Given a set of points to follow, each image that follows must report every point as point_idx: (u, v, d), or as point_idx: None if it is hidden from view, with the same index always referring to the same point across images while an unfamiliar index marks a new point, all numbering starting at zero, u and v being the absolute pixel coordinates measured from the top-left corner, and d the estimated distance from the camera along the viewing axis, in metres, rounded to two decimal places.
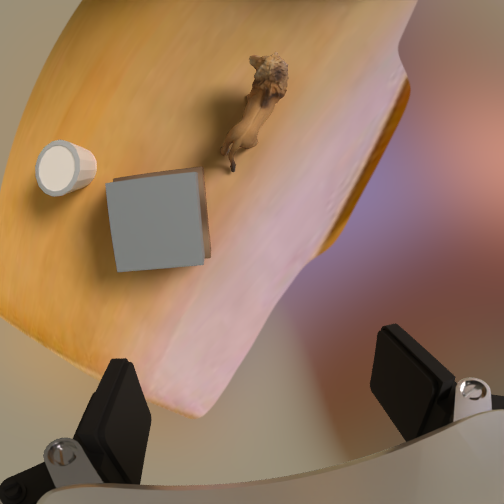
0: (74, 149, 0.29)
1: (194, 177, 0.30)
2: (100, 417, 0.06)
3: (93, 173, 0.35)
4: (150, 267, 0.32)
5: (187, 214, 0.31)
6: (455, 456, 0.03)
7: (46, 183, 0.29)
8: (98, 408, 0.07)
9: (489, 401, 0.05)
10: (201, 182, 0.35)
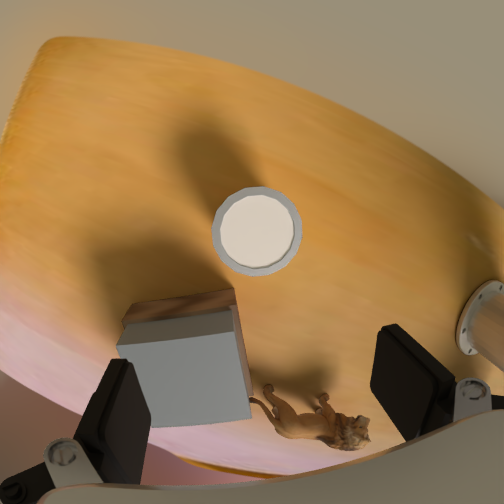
0: (284, 264, 0.23)
1: (245, 418, 0.26)
2: (100, 417, 0.06)
3: None
4: None
5: (203, 416, 0.25)
6: (455, 456, 0.03)
7: (233, 212, 0.22)
8: (98, 408, 0.07)
9: (489, 401, 0.05)
10: None
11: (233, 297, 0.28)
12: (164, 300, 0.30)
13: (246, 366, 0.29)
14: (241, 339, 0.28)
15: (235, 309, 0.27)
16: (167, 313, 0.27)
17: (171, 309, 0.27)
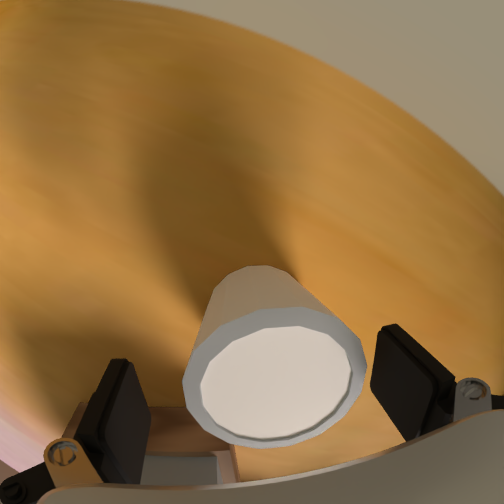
0: (320, 432, 0.11)
1: None
2: (100, 417, 0.06)
3: None
4: None
5: None
6: (455, 456, 0.03)
7: (229, 357, 0.10)
8: (98, 408, 0.07)
9: (489, 401, 0.05)
10: None
11: None
12: None
13: None
14: (234, 481, 0.15)
15: (227, 455, 0.14)
16: None
17: None
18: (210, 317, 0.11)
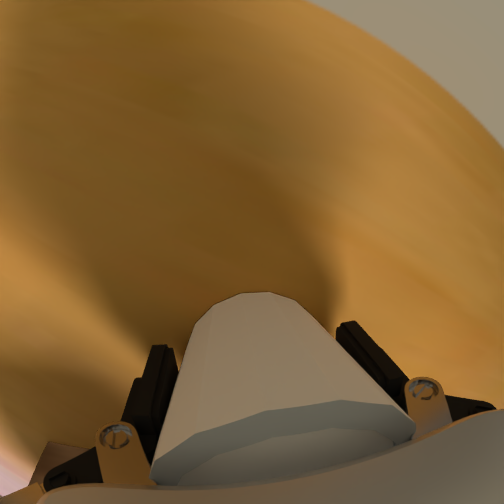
0: None
1: None
2: (152, 398, 0.07)
3: None
4: None
5: None
6: (455, 456, 0.03)
7: (214, 469, 0.05)
8: (148, 390, 0.08)
9: (443, 398, 0.06)
10: None
11: None
12: None
13: None
14: None
15: None
16: None
17: None
18: (183, 391, 0.07)
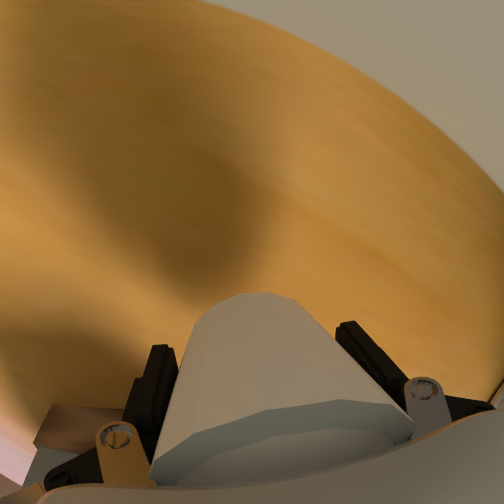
0: None
1: None
2: (152, 398, 0.07)
3: None
4: None
5: None
6: (455, 456, 0.03)
7: (214, 468, 0.05)
8: (149, 390, 0.08)
9: (443, 398, 0.06)
10: None
11: None
12: (94, 411, 0.16)
13: None
14: None
15: None
16: None
17: None
18: (183, 391, 0.07)
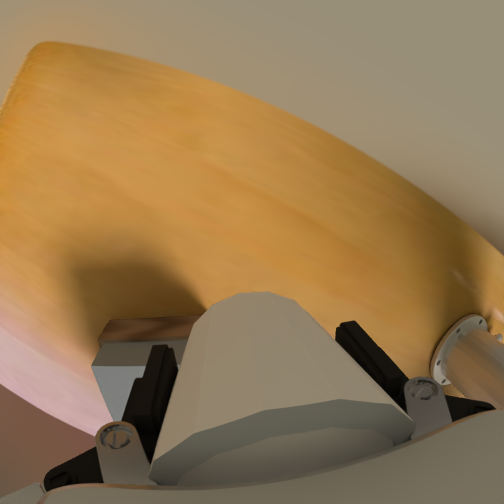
0: None
1: None
2: (152, 398, 0.07)
3: None
4: (106, 401, 0.23)
5: None
6: (455, 456, 0.03)
7: (213, 469, 0.05)
8: (149, 390, 0.08)
9: (443, 398, 0.06)
10: None
11: None
12: (140, 320, 0.29)
13: None
14: None
15: None
16: (142, 335, 0.26)
17: (146, 331, 0.27)
18: (182, 391, 0.07)
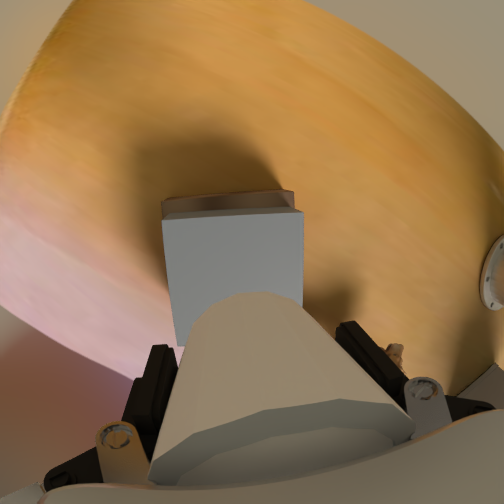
0: None
1: None
2: (152, 398, 0.07)
3: None
4: (170, 276, 0.21)
5: None
6: (455, 456, 0.03)
7: (213, 469, 0.05)
8: (149, 390, 0.08)
9: (443, 398, 0.06)
10: None
11: (287, 190, 0.27)
12: (206, 194, 0.28)
13: None
14: None
15: (292, 197, 0.25)
16: (216, 196, 0.25)
17: (219, 195, 0.25)
18: (182, 391, 0.07)
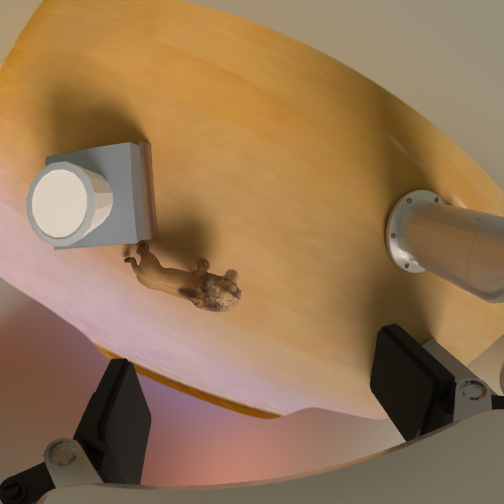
0: (80, 236, 0.21)
1: (131, 242, 0.29)
2: (100, 417, 0.06)
3: None
4: None
5: (96, 235, 0.28)
6: (455, 456, 0.03)
7: (41, 185, 0.19)
8: (98, 408, 0.07)
9: (489, 401, 0.05)
10: None
11: None
12: None
13: (146, 203, 0.32)
14: (144, 173, 0.31)
15: (142, 145, 0.30)
16: None
17: None
18: None
